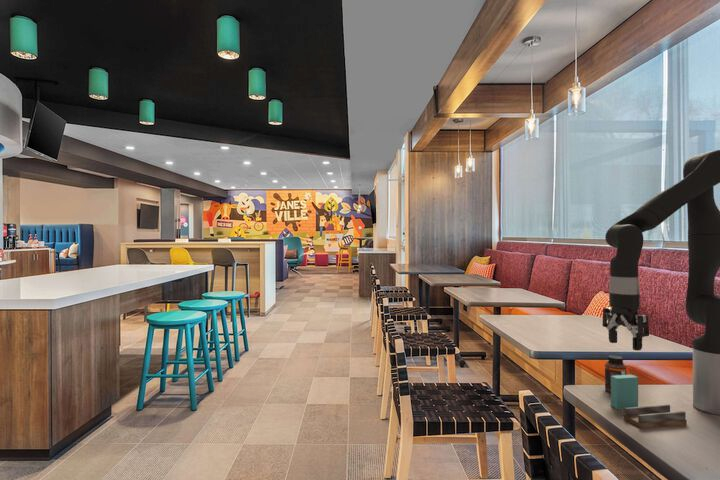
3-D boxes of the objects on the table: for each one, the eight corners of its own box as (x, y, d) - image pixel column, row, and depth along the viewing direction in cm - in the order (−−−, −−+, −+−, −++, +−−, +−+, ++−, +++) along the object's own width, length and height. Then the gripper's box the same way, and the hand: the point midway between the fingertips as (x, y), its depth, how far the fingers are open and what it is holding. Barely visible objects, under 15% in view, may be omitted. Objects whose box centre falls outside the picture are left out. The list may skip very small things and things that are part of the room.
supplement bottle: (630, 395, 126) (629, 360, 126) (609, 394, 127) (609, 358, 127) (621, 388, 132) (621, 354, 132) (602, 387, 133) (601, 353, 133)
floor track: (667, 415, 112) (667, 404, 112) (686, 424, 106) (686, 412, 106) (623, 419, 109) (623, 407, 109) (641, 428, 104) (641, 416, 104)
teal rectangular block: (631, 404, 119) (631, 374, 119) (638, 407, 117) (638, 377, 117) (610, 405, 118) (610, 375, 118) (617, 409, 116) (617, 378, 116)
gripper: (656, 294, 111) (657, 352, 111) (615, 288, 125) (616, 339, 125) (633, 295, 110) (634, 353, 110) (594, 289, 124) (595, 341, 124)
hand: (624, 346), depth 117 cm, fingers open, 8 cm apart
